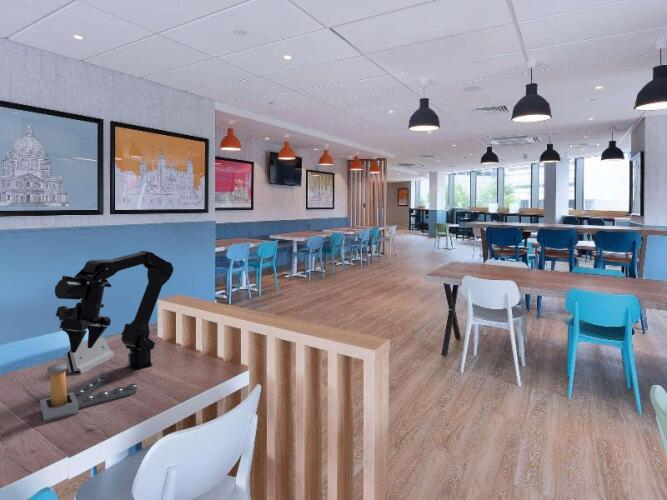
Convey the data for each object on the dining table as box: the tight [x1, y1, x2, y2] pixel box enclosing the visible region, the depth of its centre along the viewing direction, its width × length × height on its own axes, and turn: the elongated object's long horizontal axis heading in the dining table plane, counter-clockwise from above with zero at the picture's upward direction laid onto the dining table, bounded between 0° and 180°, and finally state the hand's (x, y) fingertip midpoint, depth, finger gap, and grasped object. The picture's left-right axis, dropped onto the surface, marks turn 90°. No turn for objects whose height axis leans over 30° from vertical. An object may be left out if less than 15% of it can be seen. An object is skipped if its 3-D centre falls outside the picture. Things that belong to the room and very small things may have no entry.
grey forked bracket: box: [39, 371, 138, 423], centre depth 125 cm, size 24×19×3 cm
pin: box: [46, 363, 68, 407], centre depth 114 cm, size 5×5×13 cm
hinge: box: [64, 336, 116, 375], centre depth 147 cm, size 17×5×10 cm, turn 169°
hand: (81, 350), depth 127 cm, fingers open, 9 cm apart
